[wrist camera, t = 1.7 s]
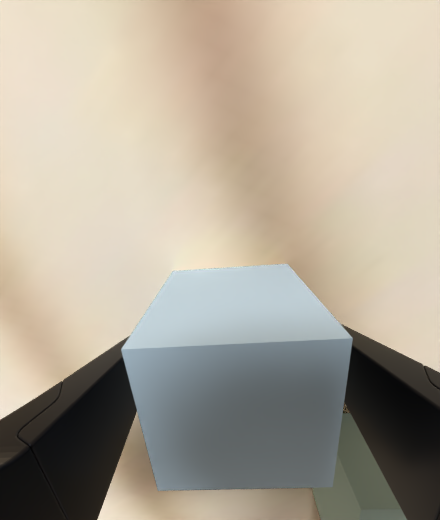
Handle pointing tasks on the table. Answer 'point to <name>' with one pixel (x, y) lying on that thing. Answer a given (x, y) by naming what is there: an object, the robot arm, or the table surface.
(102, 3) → the table surface
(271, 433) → the cube
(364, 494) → the pale green block
